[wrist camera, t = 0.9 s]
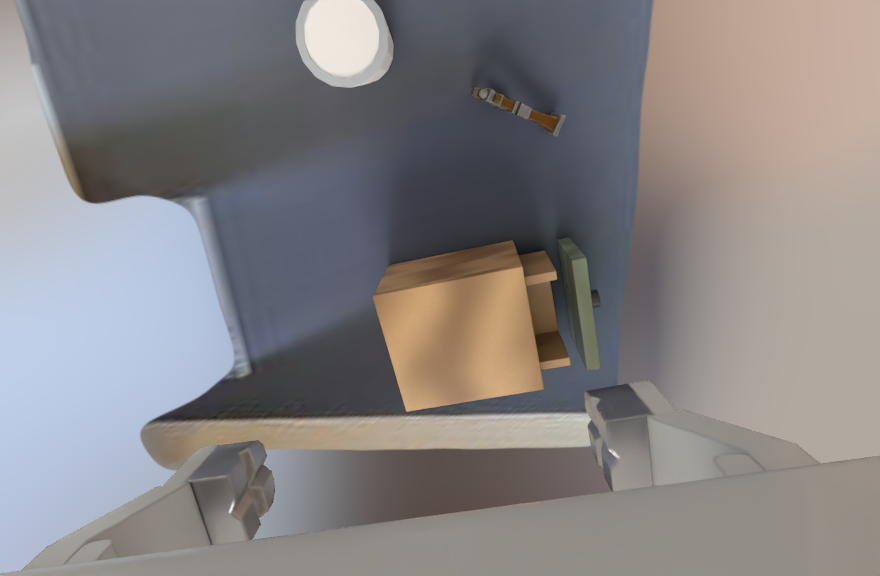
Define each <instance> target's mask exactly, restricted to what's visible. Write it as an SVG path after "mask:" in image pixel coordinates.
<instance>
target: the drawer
mask: <svg viewBox="0 0 880 576" xmlns="http://www.w3.org/2000/svg"><path fill="white" fill-rule="evenodd" d="M557 243H558V250H559V257H560V263H561V270H562V277H563V284H564V290H565V297H566V304H567V311H568V317H569V324H570V331H571V337H572V339H573V341H574V343H575V345H576V348H577V350H578V352H579V354H580V356H581V358H582V361H583V363H584V365H585V367H586V369H587V370H593V369H599V368H600V360H599V352H598V344H597V336H596V329H595V321H594V313H593V308H595V307H600V297H599V294H598V291H597V290H596V289H595V290H590V282H589V274H588V266H587V259H586V257H585V256H584V254H583V253H582V252H581V251H580V249H579V248H578V247H577V246H576V245H575V243H574V242H573V241H572V240H571V238H570V237H568V238H563V239H558V240H557ZM519 259H520V261H521V264H522V267H523V273H524V278H525V284H526V290H527V295H528V301H529V306H530V312H531V318H532V323H533V329H534V335H535V340H536V346H537V352H538V357H539V363H540V369H541V370H544V369H550V368H556V367H562V366H568V365H570V358H569V355H568V353H567V351H566V348H565V346H564V343H563V341H562V339H561V336H560V334H559V331H558V326H557V320H556V313H555V307H554V301H553V294H552V288H551V282H550V281H552V280H557V273H556V270H555V268H554V266H553V265H552V263H551V261H550V259H549V257H548V256H547V254H546V252H545V250H544V251H539V252H534V253H529V254H524V255H519Z"/></svg>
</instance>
